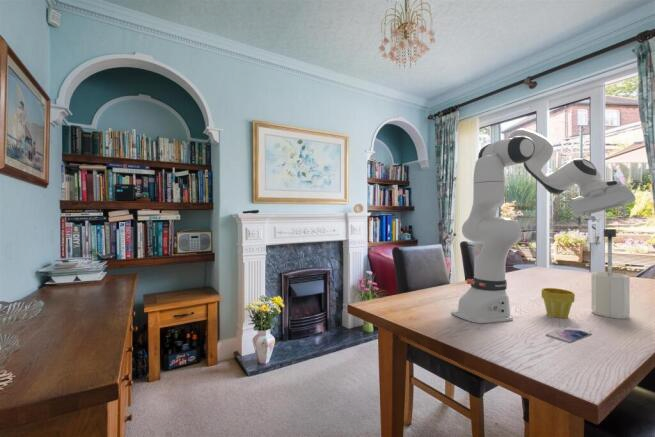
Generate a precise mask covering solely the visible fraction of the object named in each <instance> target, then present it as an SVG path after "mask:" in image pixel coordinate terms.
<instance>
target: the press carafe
mask: <svg viewBox="0 0 655 437" xmlns="http://www.w3.org/2000/svg"><path fill="white" fill-rule="evenodd" d="M590 274H591V275H590V276H591V284H590V285H591V310H592V313H593V314H594V315H597V316H600V317H604V318H609V319H618V320H627V319H629V318H630V317H629V316H630V302H631V301H630V293H631V292H630V287H631V286H630V285H631V284H630V279H631V278H630V275H626V274H623V273H615V272H612V276H608V271H605V272H604V271H594V272H593V271H592V272H591V273H590Z"/></svg>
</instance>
